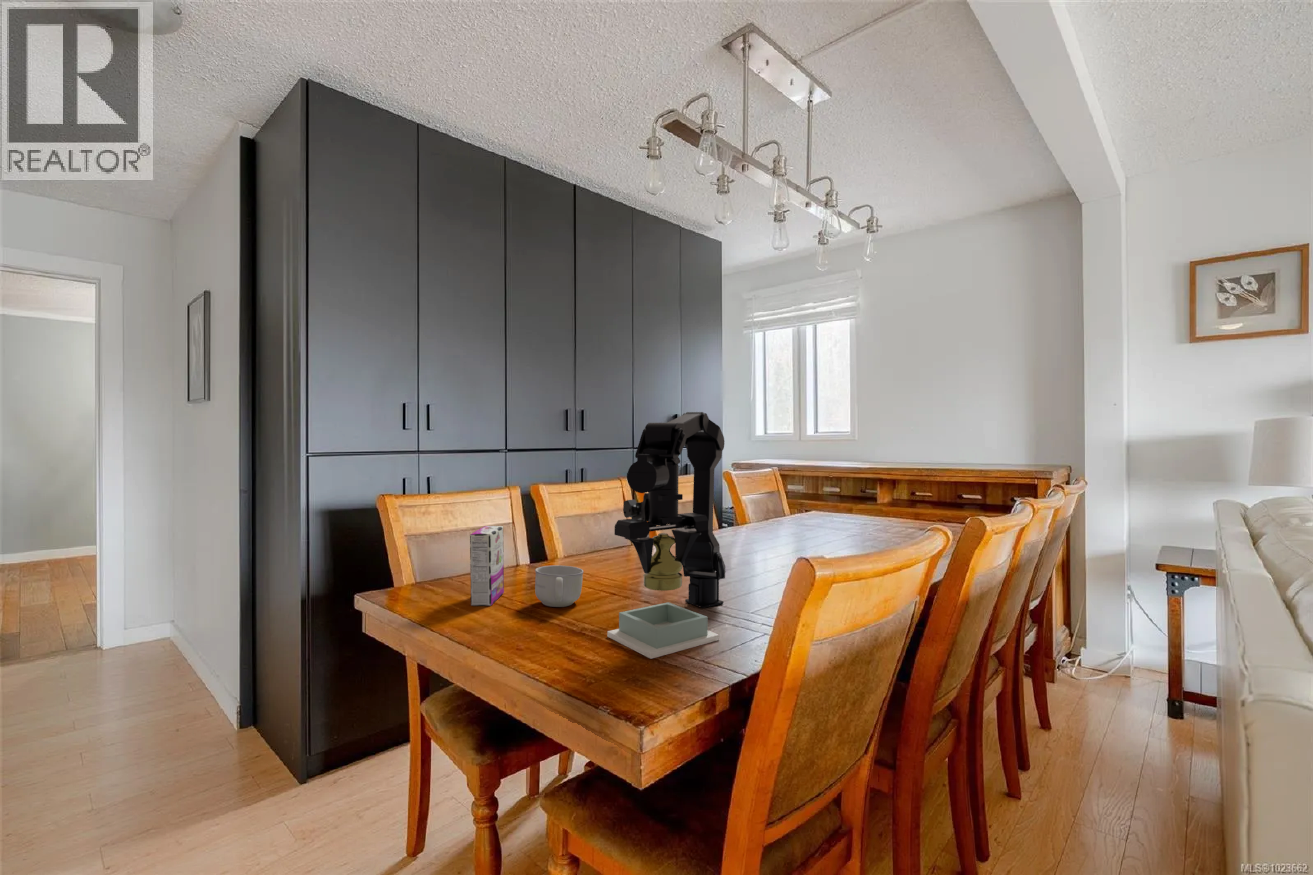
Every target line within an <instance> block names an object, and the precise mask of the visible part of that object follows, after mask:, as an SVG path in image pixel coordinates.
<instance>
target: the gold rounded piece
mask: <svg viewBox="0 0 1313 875" xmlns="http://www.w3.org/2000/svg"><path fill="white" fill-rule="evenodd" d="M652 538H653V539H654V542H653V547H655V552H654V553H652V559H651V567H650V571H649V573H648V574H646V573H643V586H644V587H645V588H646V589H648V590H653V591H661V592H663V591H664V592H665V591H674V590H677V589H680V588H681V587H683V574H682V573H681V571H683V565H682V563H681V562H680V561H679V560H677V559H675V555H673V552H672V551H671V548H672V546H673V545H674V544H675V543H676V539H675V537H674V536H671V535H669V534H668V533H665V532H661V533H658V535H655V536H653V537H652Z"/></svg>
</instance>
